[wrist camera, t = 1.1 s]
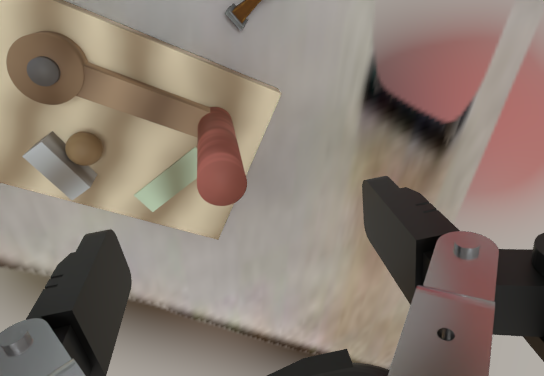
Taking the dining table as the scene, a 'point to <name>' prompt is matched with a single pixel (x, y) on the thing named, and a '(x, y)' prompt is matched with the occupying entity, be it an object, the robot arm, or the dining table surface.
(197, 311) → the dining table surface
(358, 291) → the dining table surface
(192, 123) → the lever
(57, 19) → the board
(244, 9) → the wooden post with brackets
